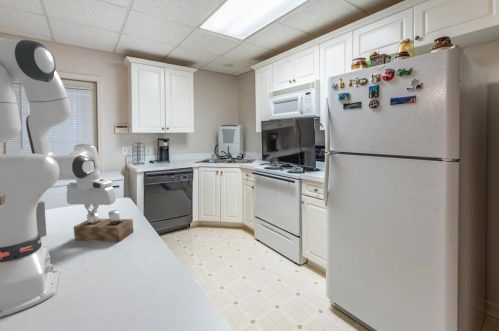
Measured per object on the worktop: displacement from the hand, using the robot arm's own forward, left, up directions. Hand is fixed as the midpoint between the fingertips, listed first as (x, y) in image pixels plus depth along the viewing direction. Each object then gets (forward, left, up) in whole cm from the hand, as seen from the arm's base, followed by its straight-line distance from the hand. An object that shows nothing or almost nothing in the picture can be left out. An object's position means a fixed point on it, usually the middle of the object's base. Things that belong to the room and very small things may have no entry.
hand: (92, 214), depth 109 cm
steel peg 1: (0, 0, -6) cm, 6 cm away
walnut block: (-4, -3, -10) cm, 11 cm away
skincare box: (+19, +19, -10) cm, 29 cm away
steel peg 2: (-8, -6, -5) cm, 11 cm away
